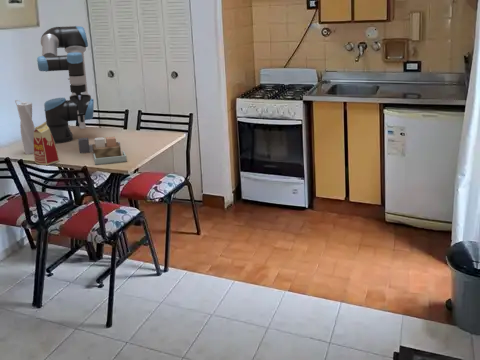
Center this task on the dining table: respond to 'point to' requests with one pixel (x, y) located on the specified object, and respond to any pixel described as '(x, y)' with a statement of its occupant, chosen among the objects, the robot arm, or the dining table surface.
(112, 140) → the tile terracotta
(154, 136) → the dining table surface
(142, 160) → the dining table surface
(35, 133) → the milk carton
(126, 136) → the dining table surface
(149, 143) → the dining table surface
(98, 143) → the tile white
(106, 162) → the tray
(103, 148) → the board
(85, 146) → the scraper
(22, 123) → the skyscraper
